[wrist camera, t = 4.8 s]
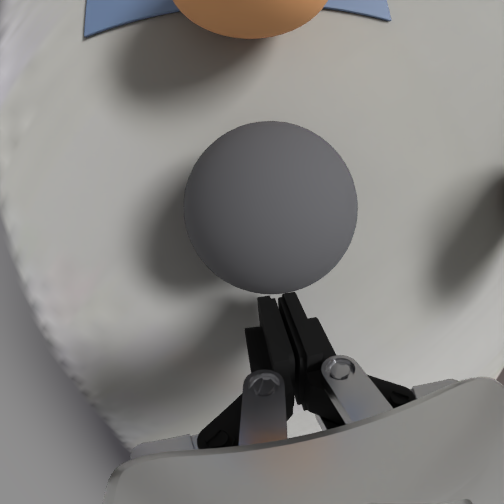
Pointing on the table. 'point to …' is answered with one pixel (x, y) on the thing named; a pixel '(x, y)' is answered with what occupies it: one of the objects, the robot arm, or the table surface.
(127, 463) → the robot arm
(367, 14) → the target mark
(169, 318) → the table surface
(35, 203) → the table surface
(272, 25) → the orange ball
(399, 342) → the table surface
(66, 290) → the table surface
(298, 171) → the gray ball
